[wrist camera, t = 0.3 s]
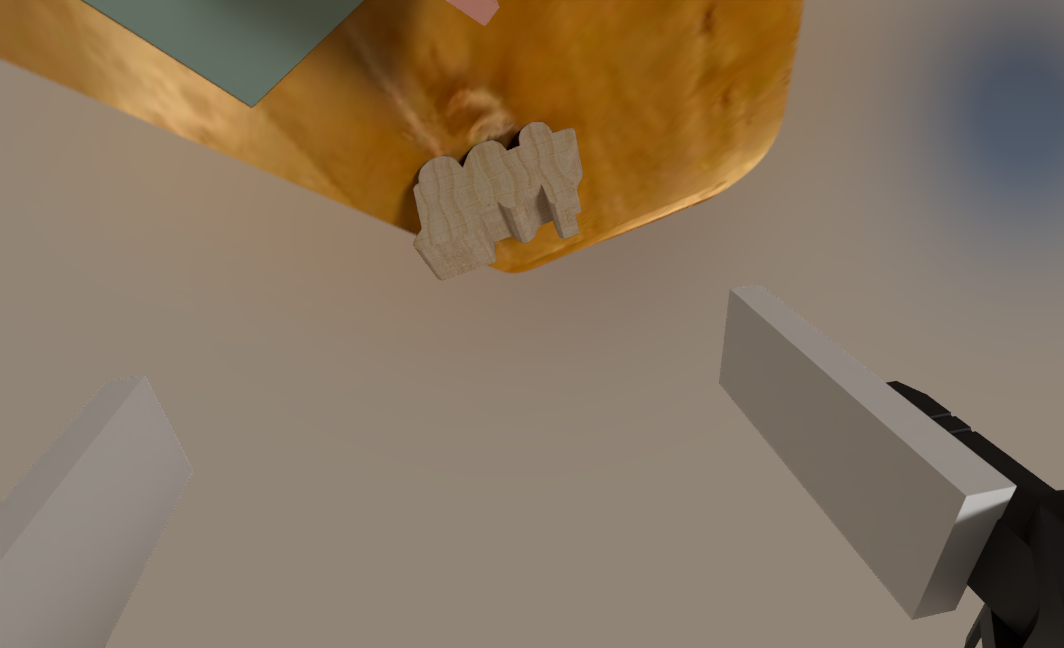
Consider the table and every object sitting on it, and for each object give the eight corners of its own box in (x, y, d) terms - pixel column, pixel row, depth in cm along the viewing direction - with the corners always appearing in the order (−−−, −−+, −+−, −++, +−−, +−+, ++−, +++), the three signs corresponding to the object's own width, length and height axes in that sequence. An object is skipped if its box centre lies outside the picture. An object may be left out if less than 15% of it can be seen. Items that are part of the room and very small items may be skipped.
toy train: (573, 150, 57) (604, 224, 52) (420, 206, 58) (437, 284, 54) (565, 109, 52) (598, 187, 47) (398, 171, 53) (414, 253, 49)
